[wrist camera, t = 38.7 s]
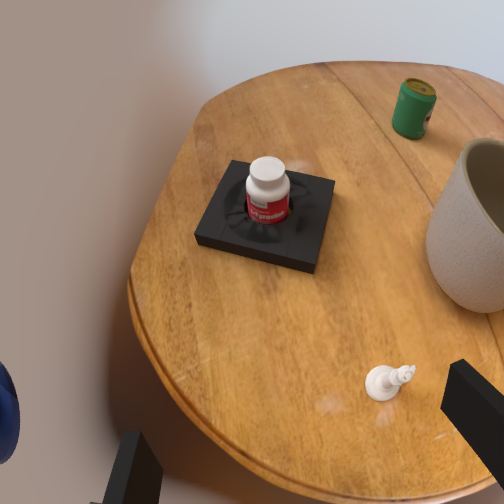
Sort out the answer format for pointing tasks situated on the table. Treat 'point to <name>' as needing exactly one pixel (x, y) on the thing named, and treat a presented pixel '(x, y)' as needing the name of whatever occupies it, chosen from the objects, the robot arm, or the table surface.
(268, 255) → the black pad
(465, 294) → the planter
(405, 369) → the chess piece
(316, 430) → the table surface
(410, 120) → the beverage can
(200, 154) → the table surface
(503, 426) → the robot arm
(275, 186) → the pill bottle
